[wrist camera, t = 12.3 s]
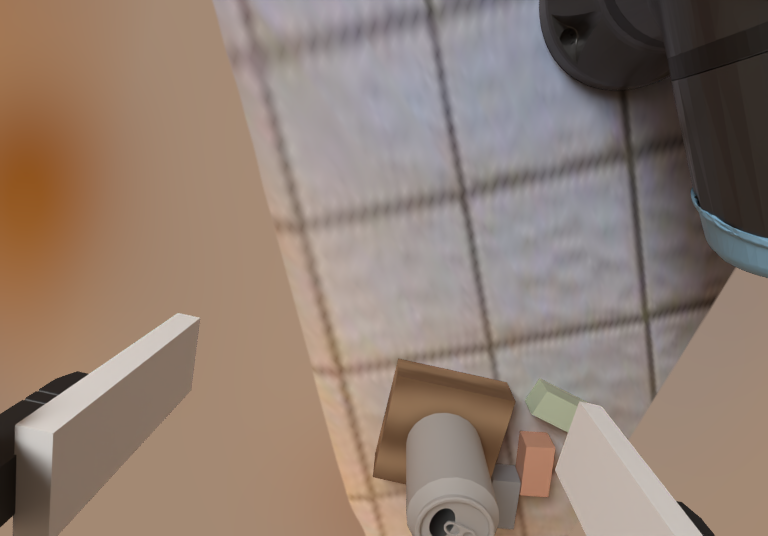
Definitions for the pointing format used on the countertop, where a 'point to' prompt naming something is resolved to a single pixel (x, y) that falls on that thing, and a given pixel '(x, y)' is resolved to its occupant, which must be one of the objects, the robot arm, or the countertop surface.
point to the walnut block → (440, 395)
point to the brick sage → (552, 404)
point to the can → (448, 480)
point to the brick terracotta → (535, 463)
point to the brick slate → (506, 493)
